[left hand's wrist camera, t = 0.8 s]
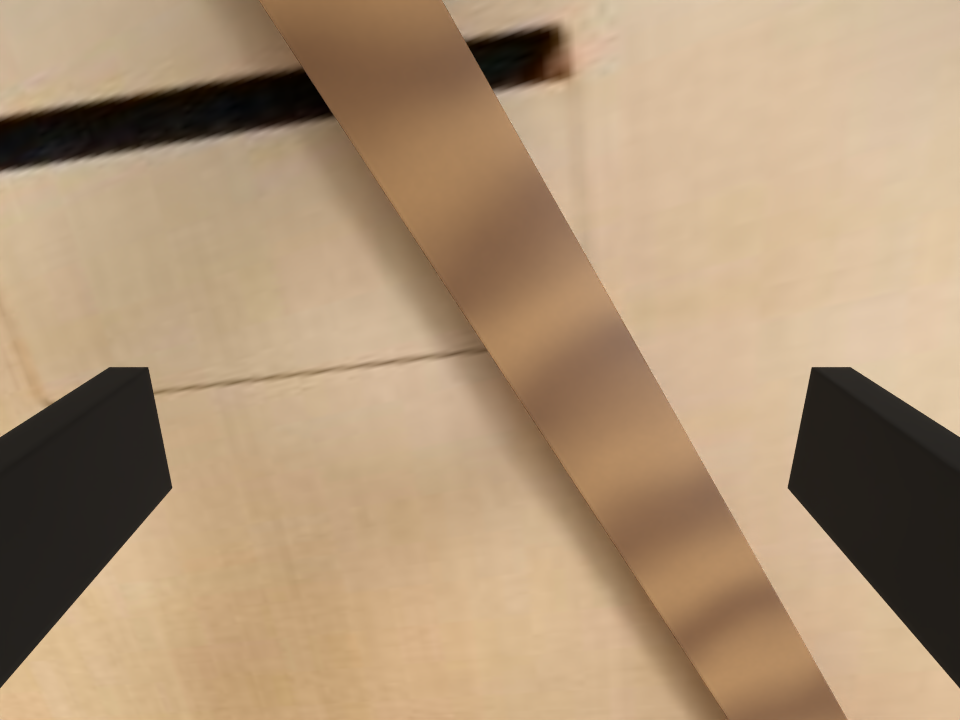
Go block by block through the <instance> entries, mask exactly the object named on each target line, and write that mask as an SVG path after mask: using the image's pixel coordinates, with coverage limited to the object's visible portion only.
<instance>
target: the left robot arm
mask: <svg viewBox="0 0 960 720" xmlns="http://www.w3.org/2000/svg"><path fill="white" fill-rule="evenodd" d="M171 489H172V484H171V479H170V474H169V469H168V464H167V459H166V454H165V449H164V444H163V439H162V434H161V429H160V424H159V419H158V414H157V409H156V404H155V399H154V394H153V389H152V384H151V379H150V374H149V369H148V367H109V368H108V369H106V370H104V371H103V372H101V373H100V374H98V375H97V376H95V377H94V378H92V379H90V380H89V381H87V382H86V383H84V384H83V385H81V386H80V387H78V388H76V389H75V390H73V391H72V392H70V393H69V394H67V395H65V396H64V397H62V398H61V399H59V400H58V401H56V402H55V403H53V404H51V405H50V406H48V407H47V408H45V409H44V410H42V411H40V412H39V413H37V414H36V415H34V416H33V417H31V418H30V419H28V420H26V421H25V422H23V423H22V424H20V425H19V426H17V427H16V428H14V429H12V430H11V431H9V432H8V433H6V434H5V435H3V436H1V437H0V688H1V687H2V686H3V684H4V683H5V682H6V681H7V680H8V679H9V677H10V676H11V675H12V674H13V673H14V672H15V670H16V669H17V668H18V667H19V666H20V665H21V663H22V662H23V661H24V660H25V659H26V658H27V656H28V655H29V654H30V653H31V652H32V651H33V649H34V648H35V647H36V646H37V645H38V644H39V642H40V641H41V640H42V639H43V638H44V637H45V635H46V634H47V633H48V632H49V631H50V630H51V628H52V627H53V626H54V625H55V624H56V623H57V622H58V620H59V619H60V618H61V617H62V616H63V615H64V613H65V612H66V611H67V610H68V609H69V608H70V606H71V605H72V604H73V603H74V602H75V601H76V599H77V598H78V597H79V596H80V595H81V594H82V592H83V591H84V590H85V589H86V588H87V587H88V585H89V584H90V583H91V582H92V581H93V580H94V578H95V577H96V576H97V575H98V574H99V573H100V571H101V570H102V569H103V568H104V567H105V566H106V565H107V563H108V562H109V561H110V560H111V559H112V558H113V556H114V555H115V554H116V553H117V552H118V551H119V549H120V548H121V547H122V546H123V545H124V544H125V542H126V541H127V540H128V539H129V538H130V537H131V535H132V534H133V533H134V532H135V531H136V530H137V528H138V527H139V526H140V525H141V524H142V523H143V521H144V520H145V519H146V518H147V517H148V516H149V514H150V513H151V512H152V511H153V510H154V509H155V507H156V506H157V505H158V504H159V503H160V502H161V501H162V499H163V498H164V497H165V496H166V495H167V494H168V492H169V491H170V490H171ZM788 489H789V490H790V491H791V492H792V494H793V495H794V496H795V497H796V498H797V499H798V501H799V502H800V503H801V504H802V505H803V506H804V508H805V509H806V510H807V511H808V512H809V513H810V514H811V516H812V517H813V518H814V519H815V520H816V521H817V523H818V524H819V525H820V526H821V527H822V528H823V530H824V531H825V532H826V533H827V534H828V535H829V537H830V538H831V539H832V540H833V541H834V542H835V544H836V545H837V546H838V547H839V548H840V549H841V551H842V552H843V553H844V554H845V555H846V556H847V558H848V559H849V560H850V561H851V562H852V563H853V565H854V566H855V567H856V568H857V569H858V570H859V571H860V573H861V574H862V575H863V576H864V577H865V578H866V580H867V581H868V582H869V583H870V584H871V585H872V587H873V588H874V589H875V590H876V591H877V592H878V594H879V595H880V596H881V597H882V598H883V599H884V601H885V602H886V603H887V604H888V605H889V606H890V608H891V609H892V610H893V611H894V612H895V613H896V615H897V616H898V617H899V618H900V619H901V620H902V622H903V623H904V624H905V625H906V626H907V627H908V629H909V630H910V631H911V632H912V633H913V634H914V635H915V637H916V638H917V639H918V640H919V641H920V642H921V644H922V645H923V646H924V647H925V648H926V649H927V651H928V652H929V653H930V654H931V655H932V656H933V658H934V659H935V660H936V661H937V662H938V663H939V665H940V666H941V667H942V668H943V669H944V670H945V672H946V673H947V674H948V675H949V676H950V677H951V679H952V680H953V681H954V682H955V683H956V684H957V686H958V687H959V688H960V437H959V436H957V435H955V434H954V433H952V432H951V431H949V430H948V429H946V428H944V427H943V426H941V425H940V424H938V423H937V422H935V421H934V420H932V419H930V418H929V417H927V416H926V415H924V414H923V413H921V412H920V411H918V410H916V409H915V408H913V407H912V406H910V405H909V404H907V403H905V402H904V401H902V400H901V399H899V398H898V397H896V396H895V395H893V394H891V393H890V392H888V391H887V390H885V389H884V388H882V387H880V386H879V385H877V384H876V383H874V382H873V381H871V380H870V379H868V378H866V377H865V376H863V375H862V374H860V373H859V372H857V371H856V370H854V369H852V368H851V367H812V369H811V374H810V379H809V384H808V389H807V394H806V399H805V404H804V409H803V414H802V419H801V424H800V429H799V434H798V439H797V444H796V449H795V454H794V459H793V464H792V469H791V474H790V479H789V484H788Z"/></svg>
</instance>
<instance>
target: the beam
mask: <svg viewBox="0 0 960 720" xmlns="http://www.w3.org/2000/svg"><path fill="white" fill-rule="evenodd" d="M259 1H260V3H261V4H262V6H263V7H264V9H265V10H266V12H267V14H268V15H269V17H270V18H271V20H272V21H273V23H274V24H275V26H276V27H277V29H278V30H279V32H280V33H281V35H282V36H283V38H284V40H285V41H286V43H287V44H288V46H289V47H290V49H291V50H292V52H293V53H294V55H295V56H296V58H297V59H298V61H299V63H300V64H301V66H302V67H303V69H304V70H305V72H306V73H307V75H308V76H309V78H310V79H311V81H312V82H313V84H314V85H315V87H316V89H317V90H318V92H319V93H320V95H321V96H322V98H323V99H324V101H325V102H326V104H327V105H328V107H329V108H330V110H331V112H332V113H333V115H334V116H335V118H336V119H337V121H338V122H339V124H340V125H341V127H342V128H343V130H344V131H345V133H346V134H347V136H348V138H349V139H350V141H351V142H352V144H353V145H354V147H355V148H356V150H357V151H358V153H359V154H360V156H361V157H362V159H363V161H364V162H365V164H366V165H367V167H368V168H369V170H370V171H371V173H372V174H373V176H374V177H375V179H376V180H377V182H378V183H379V185H380V187H381V188H382V190H383V191H384V193H385V194H386V196H387V197H388V199H389V200H390V202H391V203H392V205H393V206H394V208H395V210H396V211H397V213H398V214H399V216H400V217H401V219H402V220H403V222H404V223H405V225H406V226H407V228H408V229H409V231H410V232H411V234H412V236H413V237H414V239H415V240H416V242H417V243H418V245H419V246H420V248H421V249H422V251H423V252H424V254H425V255H426V257H427V259H428V260H429V262H430V263H431V265H432V266H433V268H434V269H435V271H436V272H437V274H438V275H439V277H440V278H441V280H442V281H443V283H444V285H445V286H446V288H447V289H448V291H449V292H450V294H451V295H452V297H453V298H454V300H455V301H456V303H457V304H458V306H459V307H460V309H461V311H462V312H463V314H464V315H465V317H466V318H467V320H468V321H469V323H470V324H471V326H472V327H473V329H474V330H475V332H476V334H477V335H478V337H479V338H480V340H481V341H482V343H483V344H484V346H485V347H486V349H487V350H488V352H489V353H490V355H491V356H492V358H493V360H494V361H495V363H496V364H497V366H498V367H499V369H500V370H501V372H502V373H503V375H504V376H505V378H506V379H507V381H508V383H509V384H510V386H511V387H512V389H513V390H514V392H515V393H516V395H517V396H518V398H519V399H520V401H521V402H522V404H523V405H524V407H525V409H526V410H527V412H528V413H529V415H530V416H531V418H532V419H533V421H534V422H535V424H536V425H537V427H538V428H539V430H540V432H541V433H542V435H543V436H544V438H545V439H546V441H547V442H548V444H549V445H550V447H551V448H552V450H553V451H554V453H555V454H556V456H557V458H558V459H559V461H560V462H561V464H562V465H563V467H564V468H565V470H566V471H567V473H568V474H569V476H570V477H571V479H572V481H573V482H574V484H575V485H576V487H577V488H578V490H579V491H580V493H581V494H582V496H583V497H584V499H585V500H586V502H587V503H588V505H589V507H590V508H591V510H592V511H593V513H594V514H595V516H596V517H597V519H598V520H599V522H600V523H601V525H602V526H603V528H604V530H605V531H606V533H607V534H608V536H609V537H610V539H611V540H612V542H613V543H614V545H615V546H616V548H617V549H618V551H619V552H620V554H621V556H622V557H623V559H624V560H625V562H626V563H627V565H628V566H629V568H630V569H631V571H632V572H633V574H634V575H635V577H636V579H637V580H638V582H639V583H640V585H641V586H642V588H643V589H644V591H645V592H646V594H647V595H648V597H649V598H650V600H651V601H652V603H653V605H654V606H655V608H656V609H657V611H658V612H659V614H660V615H661V617H662V618H663V620H664V621H665V623H666V624H667V626H668V628H669V629H670V631H671V632H672V634H673V635H674V637H675V638H676V640H677V641H678V643H679V644H680V646H681V647H682V649H683V650H684V652H685V654H686V655H687V657H688V658H689V660H690V661H691V663H692V664H693V666H694V667H695V669H696V670H697V672H698V673H699V675H700V677H701V678H702V680H703V681H704V683H705V684H706V686H707V687H708V689H709V690H710V692H711V693H712V695H713V696H714V698H715V699H716V701H717V703H718V704H719V706H720V707H721V709H722V710H723V712H724V713H725V715H726V716H727V718H728V719H729V720H847V718H846V716H845V715H844V713H843V711H842V709H841V707H840V706H839V704H838V702H837V700H836V699H835V697H834V695H833V693H832V691H831V690H830V688H829V686H828V684H827V683H826V681H825V679H824V677H823V676H822V674H821V672H820V670H819V668H818V667H817V665H816V663H815V661H814V660H813V658H812V656H811V654H810V652H809V651H808V649H807V647H806V645H805V644H804V642H803V640H802V638H801V636H800V635H799V633H798V631H797V629H796V628H795V626H794V624H793V622H792V621H791V619H790V617H789V615H788V613H787V612H786V610H785V608H784V606H783V605H782V603H781V601H780V599H779V597H778V596H777V594H776V592H775V590H774V589H773V587H772V585H771V583H770V582H769V580H768V578H767V576H766V574H765V573H764V571H763V569H762V567H761V566H760V564H759V562H758V560H757V558H756V557H755V555H754V553H753V551H752V550H751V548H750V546H749V544H748V542H747V541H746V539H745V537H744V535H743V534H742V532H741V530H740V528H739V527H738V525H737V523H736V521H735V519H734V518H733V516H732V514H731V512H730V511H729V509H728V507H727V505H726V503H725V502H724V500H723V498H722V496H721V495H720V493H719V491H718V489H717V487H716V486H715V484H714V482H713V480H712V479H711V477H710V475H709V473H708V472H707V470H706V468H705V466H704V464H703V463H702V461H701V459H700V457H699V456H698V454H697V452H696V450H695V448H694V447H693V445H692V443H691V441H690V440H689V438H688V436H687V434H686V433H685V431H684V429H683V427H682V425H681V424H680V422H679V420H678V418H677V417H676V415H675V413H674V411H673V409H672V408H671V406H670V404H669V402H668V401H667V399H666V397H665V395H664V393H663V392H662V390H661V388H660V386H659V385H658V383H657V381H656V379H655V378H654V376H653V374H652V372H651V370H650V369H649V367H648V365H647V363H646V362H645V360H644V358H643V356H642V354H641V353H640V351H639V349H638V347H637V346H636V344H635V342H634V340H633V338H632V337H631V335H630V333H629V331H628V330H627V328H626V326H625V324H624V323H623V321H622V319H621V317H620V315H619V314H618V312H617V310H616V308H615V307H614V305H613V303H612V301H611V299H610V298H609V296H608V294H607V292H606V291H605V289H604V287H603V285H602V284H601V282H600V280H599V278H598V276H597V275H596V273H595V271H594V269H593V268H592V266H591V264H590V262H589V260H588V259H587V257H586V255H585V253H584V252H583V250H582V248H581V246H580V244H579V243H578V241H577V239H576V237H575V236H574V234H573V232H572V230H571V229H570V227H569V225H568V223H567V221H566V220H565V218H564V216H563V214H562V213H561V211H560V209H559V207H558V205H557V204H556V202H555V200H554V198H553V197H552V195H551V193H550V191H549V190H548V188H547V186H546V184H545V182H544V181H543V179H542V177H541V175H540V174H539V172H538V170H537V168H536V166H535V165H534V163H533V161H532V159H531V158H530V156H529V154H528V152H527V150H526V149H525V147H524V145H523V143H522V142H521V140H520V138H519V136H518V135H517V133H516V131H515V129H514V127H513V126H512V124H511V122H510V120H509V119H508V117H507V115H506V113H505V111H504V110H503V108H502V106H501V104H500V103H499V101H498V99H497V97H496V95H495V94H494V92H493V90H492V88H491V87H490V85H489V83H488V81H487V80H486V78H485V76H484V74H483V72H482V71H481V69H480V67H479V65H478V64H477V62H476V60H475V58H474V56H473V55H472V53H471V51H470V49H469V48H468V46H467V44H466V42H465V41H464V39H463V37H462V35H461V33H460V32H459V30H458V28H457V26H456V25H455V23H454V21H453V19H452V17H451V16H450V14H449V12H448V10H447V9H446V7H445V5H444V3H443V1H442V0H259Z"/></svg>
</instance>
